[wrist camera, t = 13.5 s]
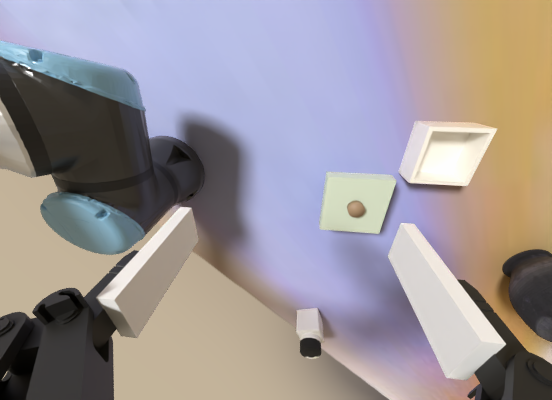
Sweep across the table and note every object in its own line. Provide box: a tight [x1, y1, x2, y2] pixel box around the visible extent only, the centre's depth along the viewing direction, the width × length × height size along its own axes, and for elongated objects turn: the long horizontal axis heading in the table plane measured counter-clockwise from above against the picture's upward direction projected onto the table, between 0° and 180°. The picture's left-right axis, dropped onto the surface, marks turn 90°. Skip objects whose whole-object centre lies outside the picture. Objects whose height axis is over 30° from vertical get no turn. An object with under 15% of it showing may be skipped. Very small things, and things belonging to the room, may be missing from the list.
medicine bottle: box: [296, 308, 324, 359], centre depth 65 cm, size 7×7×12 cm
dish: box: [399, 121, 497, 186], centre depth 38 cm, size 10×10×5 cm
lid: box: [319, 172, 396, 234], centre depth 41 cm, size 12×12×4 cm
